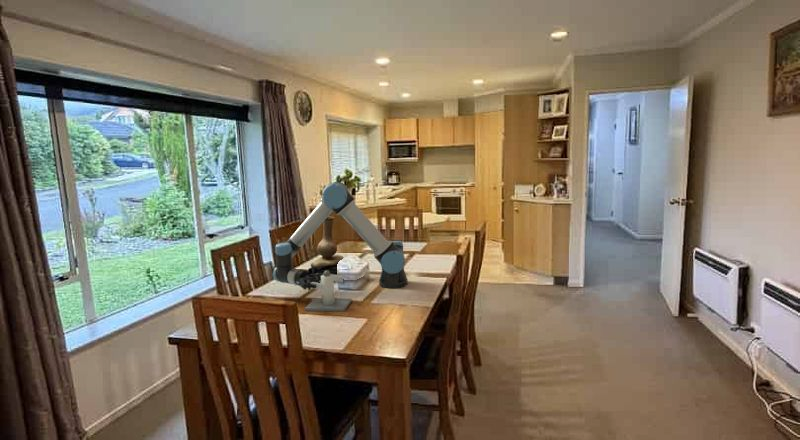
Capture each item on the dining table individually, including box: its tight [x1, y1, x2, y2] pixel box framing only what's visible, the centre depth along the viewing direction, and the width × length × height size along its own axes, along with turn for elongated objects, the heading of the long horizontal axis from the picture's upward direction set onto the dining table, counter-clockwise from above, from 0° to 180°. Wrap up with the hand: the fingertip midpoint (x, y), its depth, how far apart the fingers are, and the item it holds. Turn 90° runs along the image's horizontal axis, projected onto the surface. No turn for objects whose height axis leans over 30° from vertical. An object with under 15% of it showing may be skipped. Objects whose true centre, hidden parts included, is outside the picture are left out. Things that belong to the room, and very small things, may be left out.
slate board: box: [304, 297, 353, 312], centre depth 195 cm, size 18×14×1 cm
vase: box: [307, 215, 345, 283], centre depth 241 cm, size 24×22×35 cm
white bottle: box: [320, 271, 336, 305], centre depth 194 cm, size 6×6×15 cm
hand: (332, 283), depth 192 cm, fingers open, 13 cm apart
